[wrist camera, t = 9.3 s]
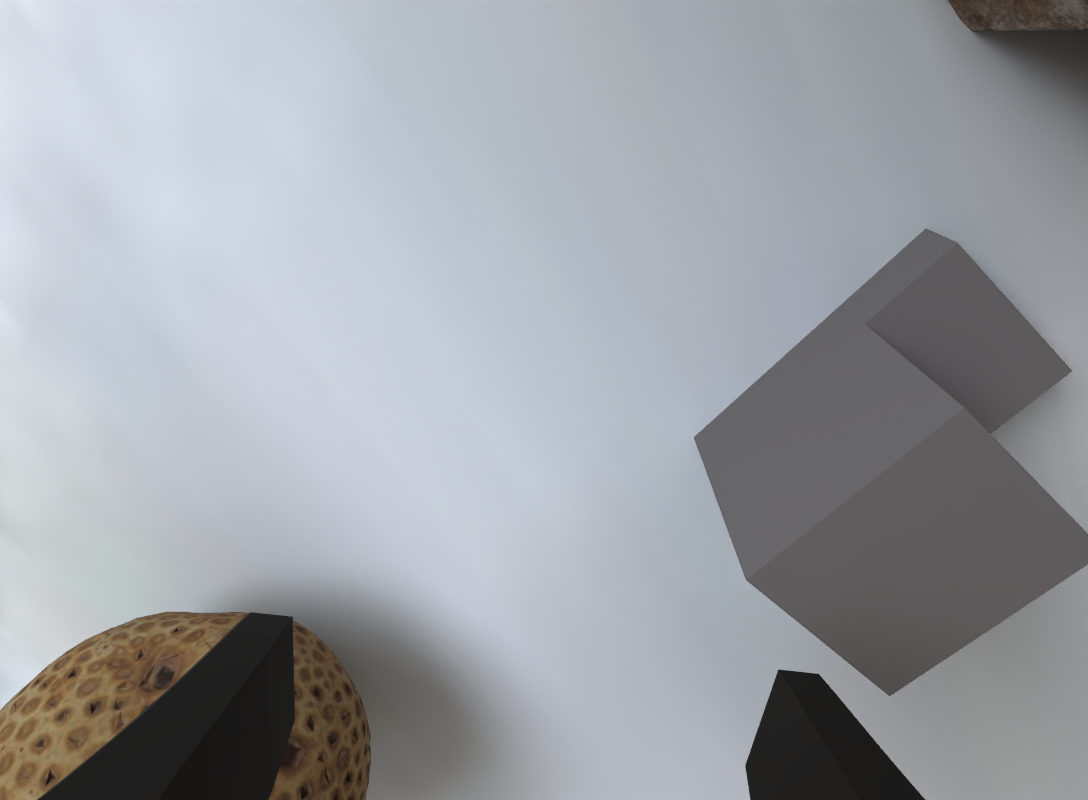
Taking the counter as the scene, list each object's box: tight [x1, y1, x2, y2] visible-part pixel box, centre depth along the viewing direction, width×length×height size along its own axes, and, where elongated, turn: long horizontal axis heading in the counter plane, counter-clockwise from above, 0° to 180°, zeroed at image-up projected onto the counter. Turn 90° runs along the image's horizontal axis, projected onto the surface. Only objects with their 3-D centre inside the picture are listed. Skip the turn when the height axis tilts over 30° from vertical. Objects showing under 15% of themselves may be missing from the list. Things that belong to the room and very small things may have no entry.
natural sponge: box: [0, 612, 371, 800], centre depth 18 cm, size 9×9×10 cm
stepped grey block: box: [694, 229, 1088, 696], centre depth 16 cm, size 4×8×6 cm, turn 138°
